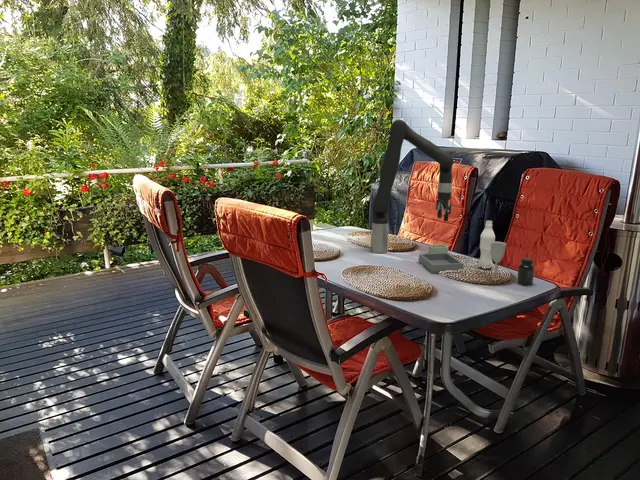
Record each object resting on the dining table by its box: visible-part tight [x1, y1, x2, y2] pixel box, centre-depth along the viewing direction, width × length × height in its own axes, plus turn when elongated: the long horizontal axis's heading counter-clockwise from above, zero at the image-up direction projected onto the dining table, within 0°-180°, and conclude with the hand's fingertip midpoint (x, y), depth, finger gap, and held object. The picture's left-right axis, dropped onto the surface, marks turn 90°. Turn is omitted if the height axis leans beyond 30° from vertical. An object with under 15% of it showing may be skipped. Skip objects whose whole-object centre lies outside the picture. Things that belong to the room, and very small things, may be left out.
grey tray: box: [418, 252, 464, 275], centre depth 254 cm, size 16×20×4 cm
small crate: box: [427, 244, 449, 254], centre depth 274 cm, size 9×6×6 cm, turn 99°
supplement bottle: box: [516, 257, 535, 286], centre depth 228 cm, size 7×7×12 cm
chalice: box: [490, 241, 507, 276], centre depth 233 cm, size 7×7×18 cm
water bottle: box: [477, 220, 496, 268], centre depth 249 cm, size 7×7×25 cm
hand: (442, 219), depth 274 cm, fingers open, 8 cm apart
